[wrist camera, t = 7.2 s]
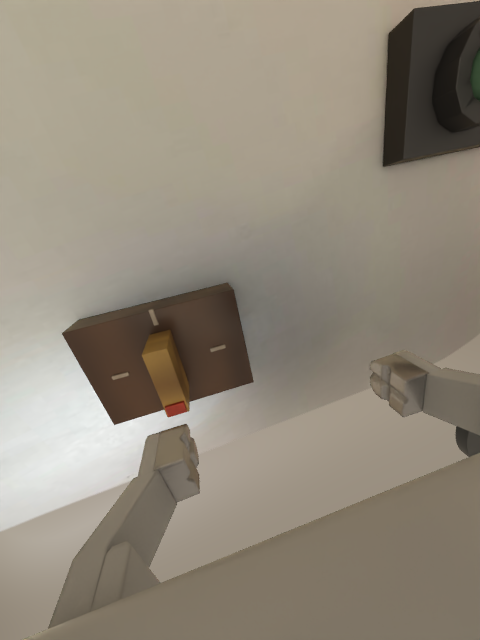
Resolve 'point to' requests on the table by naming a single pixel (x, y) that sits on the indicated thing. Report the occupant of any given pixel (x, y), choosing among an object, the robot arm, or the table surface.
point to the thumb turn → (167, 372)
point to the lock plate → (190, 339)
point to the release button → (476, 76)
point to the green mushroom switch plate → (432, 83)
